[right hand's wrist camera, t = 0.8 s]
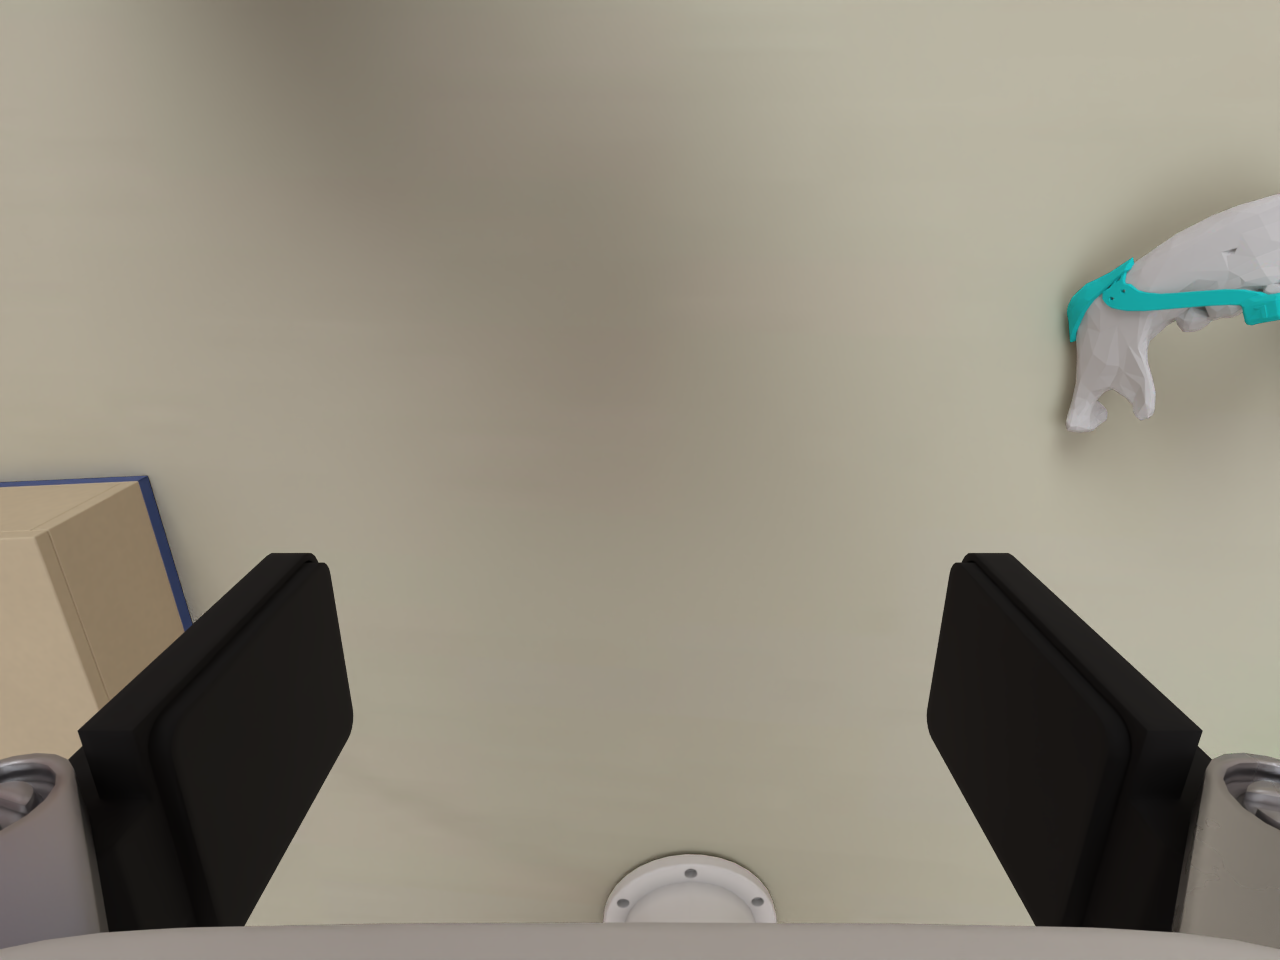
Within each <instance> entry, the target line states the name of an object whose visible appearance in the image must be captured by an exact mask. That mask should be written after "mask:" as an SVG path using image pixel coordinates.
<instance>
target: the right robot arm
mask: <svg viewBox="0 0 1280 960" xmlns="http://www.w3.org/2000/svg"><path fill="white" fill-rule="evenodd" d="M352 724H353V708H352V702H351V696H350V690H349V684H348V678H347V672H346V666H345V660H344V654H343V648H342V642H341V635H340V629H339V623H338V617H337V611H336V605H335V599H334V593H333V587H332V581H331V575H330V571H329V568H328V566H327V564H325V563H318V561H317V559H316V557H315V556H314V555H313V554H312V553H271V554H269V555H268V556H266V557H265V558H264V559H263V560H262V561H261V562H260V563H259V564H258V565H257V566H255V567H254V568H253V569H252V570H251V571H250V572H249V573H248V574H247V575H246V576H245V577H244V578H242V579H241V580H240V581H239V582H238V583H237V584H236V585H235V586H234V587H233V588H232V589H231V590H229V591H228V592H227V593H226V594H225V595H224V596H223V597H222V598H221V599H220V600H219V601H218V602H216V603H215V604H214V605H213V606H212V607H211V608H210V609H209V610H208V611H207V612H206V613H205V614H203V615H202V616H201V617H200V618H199V619H198V620H197V621H196V622H195V623H194V624H193V625H191V626H190V627H189V628H188V629H187V630H186V631H185V632H184V633H183V634H182V635H181V636H180V637H178V638H177V639H176V640H175V641H174V642H173V643H172V644H171V645H170V646H169V647H168V648H167V649H165V650H164V651H163V652H162V653H161V654H160V655H159V656H158V657H157V658H156V659H155V660H154V661H152V662H151V663H150V664H149V665H148V666H147V667H146V668H145V669H144V670H143V671H142V672H140V673H139V674H138V675H137V676H136V677H135V678H134V679H133V680H132V681H131V682H130V683H129V684H127V685H126V686H125V687H124V688H123V689H122V690H121V691H120V692H119V693H118V694H117V695H116V696H114V697H113V698H112V699H111V700H110V701H109V702H108V703H107V704H106V705H105V706H104V707H103V708H101V709H100V710H99V711H98V712H97V713H96V714H95V715H94V716H93V717H92V718H91V719H90V720H88V721H87V722H86V723H85V724H84V725H83V726H82V727H81V728H80V729H79V730H78V734H79V737H80V740H81V743H82V747H81V748H80V749H79V750H78V751H76V752H75V753H74V754H73V755H72V756H71V757H70V758H69V759H66V758H63V757H61V756H59V755H56V754H46V753H32V754H25V755H18V756H12V757H8V758H5V759H1V760H0V960H1280V760H1279V759H1275V758H1272V757H1268V756H1262V755H1255V754H1248V753H1234V754H1224V755H1221V756H1219V757H1217V758H1214V759H1211V758H1210V757H1209V756H1208V755H1207V754H1206V753H1205V752H1204V751H1202V750H1201V749H1200V748H1199V747H1198V743H1199V740H1200V737H1201V734H1202V730H1201V729H1200V728H1199V727H1198V726H1197V725H1196V724H1195V723H1194V722H1193V721H1192V720H1190V719H1189V718H1188V717H1187V716H1186V715H1185V714H1184V713H1183V712H1182V711H1181V710H1180V709H1179V708H1177V707H1176V706H1175V705H1174V704H1173V703H1172V702H1171V701H1170V700H1169V699H1168V698H1167V697H1166V696H1164V695H1163V694H1162V693H1161V692H1160V691H1159V690H1158V689H1157V688H1156V687H1155V686H1154V685H1153V684H1151V683H1150V682H1149V681H1148V680H1147V679H1146V678H1145V677H1144V676H1143V675H1142V674H1141V673H1140V672H1138V671H1137V670H1136V669H1135V668H1134V667H1133V666H1132V665H1131V664H1130V663H1129V662H1128V661H1126V660H1125V659H1124V658H1123V657H1122V656H1121V655H1120V654H1119V653H1118V652H1117V651H1116V650H1115V649H1113V648H1112V647H1111V646H1110V645H1109V644H1108V643H1107V642H1106V641H1105V640H1104V639H1103V638H1102V637H1100V636H1099V635H1098V634H1097V633H1096V632H1095V631H1094V630H1093V629H1092V628H1091V627H1090V626H1089V625H1087V624H1086V623H1085V622H1084V621H1083V620H1082V619H1081V618H1080V617H1079V616H1078V615H1077V614H1075V613H1074V612H1073V611H1072V610H1071V609H1070V608H1069V607H1068V606H1067V605H1066V604H1065V603H1064V602H1062V601H1061V600H1060V599H1059V598H1058V597H1057V596H1056V595H1055V594H1054V593H1053V592H1052V591H1051V590H1049V589H1048V588H1047V587H1046V586H1045V585H1044V584H1043V583H1042V582H1041V581H1040V580H1039V579H1038V578H1036V577H1035V576H1034V575H1033V574H1032V573H1031V572H1030V571H1029V570H1028V569H1027V568H1026V567H1025V566H1023V565H1022V564H1021V563H1020V562H1019V561H1018V560H1017V559H1016V558H1015V557H1014V556H1012V555H1011V554H1009V553H968V554H967V555H966V556H965V557H964V559H963V561H962V563H955V564H953V566H952V568H951V571H950V575H949V581H948V587H947V593H946V599H945V605H944V611H943V617H942V623H941V629H940V635H939V642H938V648H937V654H936V660H935V666H934V672H933V678H932V684H931V690H930V696H929V702H928V708H927V724H928V729H929V733H930V736H931V738H932V740H933V742H934V743H935V745H936V747H937V749H938V751H939V752H940V754H941V756H942V758H943V760H944V761H945V763H946V765H947V767H948V769H949V770H950V772H951V774H952V776H953V778H954V779H955V781H956V783H957V785H958V787H959V788H960V790H961V792H962V794H963V796H964V798H965V799H966V801H967V803H968V805H969V807H970V808H971V810H972V812H973V814H974V816H975V817H976V819H977V821H978V823H979V825H980V826H981V828H982V830H983V832H984V834H985V835H986V837H987V839H988V841H989V843H990V844H991V846H992V848H993V850H994V852H995V853H996V855H997V857H998V859H999V861H1000V862H1001V864H1002V866H1003V868H1004V870H1005V871H1006V873H1007V875H1008V877H1009V879H1010V880H1011V882H1012V884H1013V886H1014V888H1015V890H1016V891H1017V893H1018V895H1019V897H1020V899H1021V900H1022V902H1023V904H1024V906H1025V908H1026V909H1027V911H1028V913H1029V915H1030V917H1031V918H1032V920H1033V922H1034V924H1035V926H992V925H943V924H875V923H777V920H776V913H775V908H774V904H773V900H772V898H771V896H770V894H769V892H768V890H767V888H766V887H765V886H764V885H763V883H762V882H761V881H760V880H759V879H758V878H757V877H756V876H755V875H754V874H752V873H751V872H750V871H749V870H747V869H745V868H743V867H741V866H740V865H738V864H736V863H734V862H731V861H728V860H725V859H722V858H719V857H714V856H708V855H700V854H683V855H674V856H668V857H664V858H660V859H657V860H653V861H651V862H649V863H647V864H644V865H642V866H640V867H638V868H636V869H635V870H633V871H632V872H630V873H629V874H627V875H626V876H625V877H624V878H623V879H622V880H621V881H620V882H619V883H618V884H617V885H616V886H615V887H614V889H613V891H612V892H611V894H610V895H609V897H608V900H607V902H606V905H605V908H604V919H603V923H405V924H338V925H288V926H245V924H246V922H247V920H248V918H249V917H250V915H251V913H252V911H253V909H254V908H255V906H256V904H257V902H258V900H259V899H260V897H261V895H262V893H263V891H264V890H265V888H266V886H267V884H268V882H269V880H270V879H271V877H272V875H273V873H274V871H275V870H276V868H277V866H278V864H279V862H280V861H281V859H282V857H283V855H284V853H285V852H286V850H287V848H288V846H289V844H290V843H291V841H292V839H293V837H294V835H295V834H296V832H297V830H298V828H299V826H300V825H301V823H302V821H303V819H304V817H305V816H306V814H307V812H308V810H309V808H310V807H311V805H312V803H313V801H314V799H315V798H316V796H317V794H318V792H319V790H320V788H321V787H322V785H323V783H324V781H325V779H326V778H327V776H328V774H329V772H330V770H331V769H332V767H333V765H334V763H335V761H336V760H337V758H338V756H339V754H340V752H341V751H342V749H343V747H344V745H345V743H346V742H347V740H348V738H349V736H350V733H351V729H352Z"/></svg>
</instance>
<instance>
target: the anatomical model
mask: <svg viewBox="0 0 1280 960" xmlns="http://www.w3.org/2000/svg"><path fill="white" fill-rule="evenodd" d="M1242 312H1243V315H1244V320H1245V322H1246V324H1248V325H1255V324H1258V323H1264V322H1270V321H1276V320H1280V193H1278V194H1275V195H1272V196H1268V197H1265V198H1262V199H1258V200H1255V201H1251V202H1247V203H1244V204H1240V205H1238V206H1235V207H1232V208H1230V209H1227V210H1225V211H1222V212H1220V213H1217V214H1214V215H1212V216H1210V217H1208V218H1206V219H1204V220H1202V221H1200V222H1198V223H1196V224H1194V225H1192V226H1190V227H1188V228H1186V229H1184V230H1182V231H1181V232H1179V233H1177V234H1175V235H1174V236H1172V237H1171V238H1169V239H1168V240H1166V241H1165V242H1163V243H1162V244H1161V245H1159V246H1158V247H1156V248H1155V249H1153V250H1152V251H1151V252H1149V253H1148V254H1146V255H1145V256H1143V257H1142V258H1140V259H1139V260H1138V261H1136V262H1135V263H1134V260H1133V257H1132V258H1131V259H1129V260H1128V261H1126V262H1125V263H1123V264H1122V265H1120V266H1119V267H1117V268H1116V269H1114V270H1113V271H1111V272H1110V273H1108V274H1106V275H1104V276H1102V277H1100V278H1098V279H1096V280H1094V281H1091V282H1089V283H1087V284H1086V285H1084V286H1083V287H1082V288H1081V289H1080V290H1079V291H1078V292H1077V293H1076V294H1075V295H1074V296H1073V297H1072V299H1071V301H1070V303H1069V305H1068V308H1067V316H1068V321H1069V335H1070V342H1074V341H1076V347H1077V367H1076V384H1075V389H1074V393H1073V398H1072V402H1071V405H1070V408H1069V411H1068V414H1067V418H1066V428H1067V431H1072V432H1088V431H1092V430H1094V429H1095V428H1096V427H1098V426H1099V425H1100V424H1101V423H1102V422H1104V421H1106V419H1107V414H1108V412H1107V410H1106V408H1105V407H1104V406H1103V405H1102V404H1101V403H1100V402H1099V401H1098V400H1097V399H1098V398H1099V397H1100V396H1101V395H1102V394H1103V393H1104V392H1106V391H1108V390H1111V389H1113V390H1115V391H1116V392H1118V393H1120V394H1121V395H1123V396H1124V397H1125V398H1126V399H1127V400H1128V401H1129V402H1130V403H1131V404H1132V405H1133V412H1134V414H1135V416H1136V417H1137V418H1138V419H1140V420H1143V419H1148V418H1150V417H1151V416H1152V415H1153V413H1154V411H1155V396H1156V392H1155V387H1154V382H1153V378H1152V374H1151V371H1150V368H1149V364H1148V356H1147V350H1148V345H1149V341H1150V340H1151V339H1152V338H1154V337H1155V336H1156V335H1157V334H1158V333H1160V332H1161V331H1162V330H1163V329H1164V328H1165V327H1166V326H1167V325H1169V324H1171V323H1172V322H1174V321H1176V322H1177V325H1178V326H1179V327H1180V329H1181V330H1182V331H1183V332H1192V331H1197V330H1200V329H1202V328H1203V327H1205V326H1206V325H1207V324H1208V323H1209V322H1210V321H1213V320H1217V319H1220V318H1230V317H1234V316H1238V315H1239V314H1241V313H1242Z"/></svg>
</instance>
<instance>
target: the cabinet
mask: <svg viewBox="0 0 1280 960" xmlns="http://www.w3.org/2000/svg"><path fill="white" fill-rule="evenodd" d="M191 625H193V624H192V621H191V618H190V614H189V611H188V608H187V605H186V601H185V598H184V595H183V591H182V588H181V585H180V581H179V578H178V575H177V571H176V568H175V565H174V561H173V558H172V555H171V552H170V548H169V545H168V542H167V538H166V535H165V532H164V528H163V525H162V522H161V518H160V515H159V512H158V509H157V505H156V502H155V499H154V495H153V492H152V489H151V485H150V482H149V479H148V476H131V477H109V478H87V479H65V480H43V481H21V482H0V760H1V759H5V758H8V757H12V756H18V755H25V754H32V753H46V754H56V755H59V756H61V757H63V758H66V759H69V758H70V757H71V756H72V755H73V754H74V753H75V752H76V751H78V750H79V749H80V748H81V747H82V743H81V740H80V737H79V734H78V730H79V729H80V728H81V727H82V726H83V725H84V724H85V723H86V722H87V721H88V720H90V719H91V718H92V717H93V716H94V715H95V714H96V713H97V712H98V711H99V710H100V709H101V708H103V707H104V706H105V705H106V704H107V703H108V702H109V701H110V700H111V699H112V698H113V697H114V696H116V695H117V694H118V693H119V692H120V691H121V690H122V689H123V688H124V687H125V686H126V685H127V684H129V683H130V682H131V681H132V680H133V679H134V678H135V677H136V676H137V675H138V674H139V673H140V672H142V671H143V670H144V669H145V668H146V667H147V666H148V665H149V664H150V663H151V662H152V661H154V660H155V659H156V658H157V657H158V656H159V655H160V654H161V653H162V652H163V651H164V650H165V649H167V648H168V647H169V646H170V645H171V644H172V643H173V642H174V641H175V640H176V639H177V638H178V637H180V636H181V635H182V634H183V633H184V632H185V631H186V630H187V629H188V628H189V627H190V626H191Z"/></svg>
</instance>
